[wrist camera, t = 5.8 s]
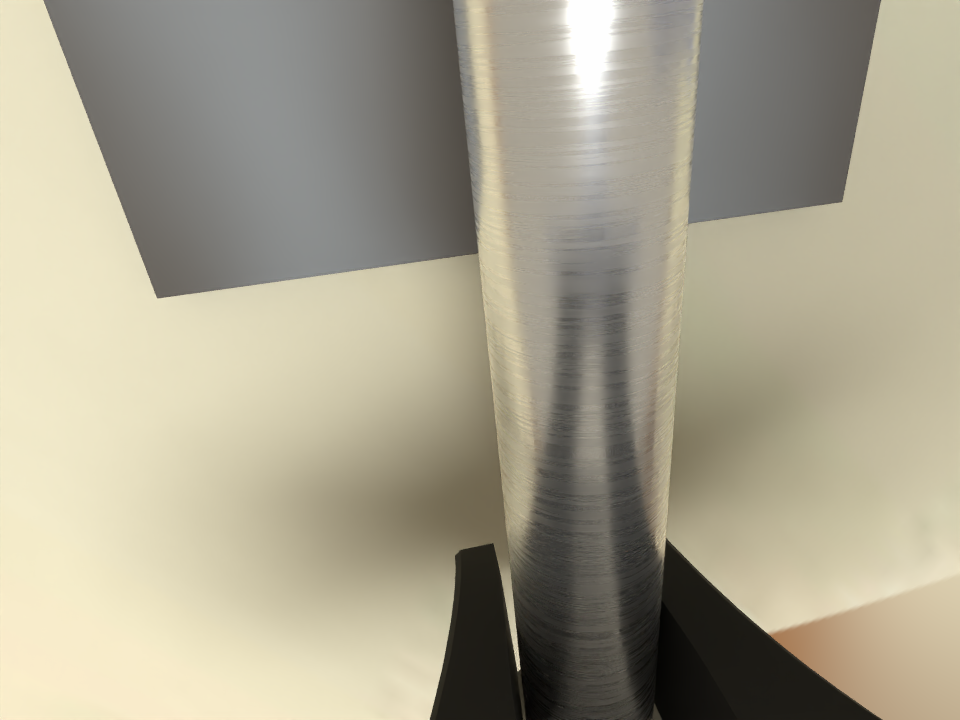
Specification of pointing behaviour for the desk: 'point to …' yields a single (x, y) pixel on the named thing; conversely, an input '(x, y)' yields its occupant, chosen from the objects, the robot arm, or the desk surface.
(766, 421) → the desk surface
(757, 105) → the bearing block
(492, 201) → the shaft
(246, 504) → the desk surface
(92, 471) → the desk surface
